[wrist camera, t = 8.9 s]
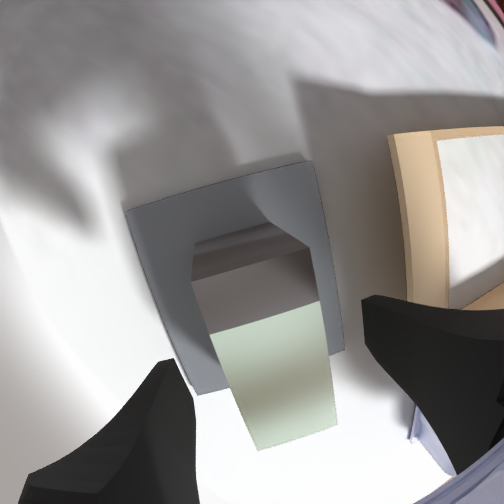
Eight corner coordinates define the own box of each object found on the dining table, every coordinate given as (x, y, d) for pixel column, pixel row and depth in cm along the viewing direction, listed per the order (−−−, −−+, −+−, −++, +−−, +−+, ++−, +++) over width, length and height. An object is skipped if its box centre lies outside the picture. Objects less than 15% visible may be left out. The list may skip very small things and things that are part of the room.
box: (301, 360, 18) (337, 424, 12) (240, 379, 18) (257, 450, 12) (270, 221, 16) (309, 247, 10) (194, 243, 15) (190, 281, 9)
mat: (341, 345, 19) (344, 349, 18) (197, 390, 18) (197, 395, 17) (308, 161, 16) (311, 160, 15) (127, 210, 15) (125, 211, 14)
